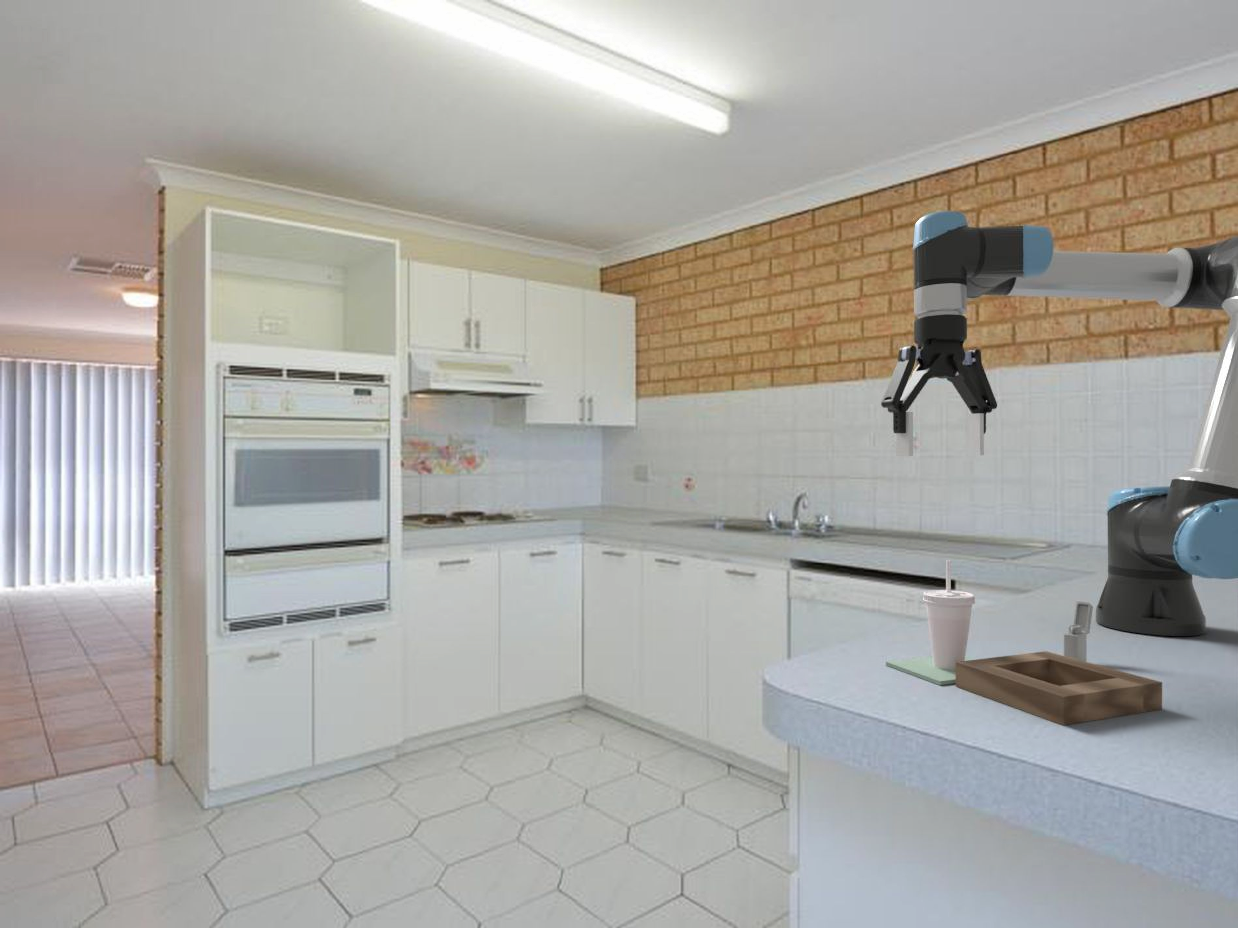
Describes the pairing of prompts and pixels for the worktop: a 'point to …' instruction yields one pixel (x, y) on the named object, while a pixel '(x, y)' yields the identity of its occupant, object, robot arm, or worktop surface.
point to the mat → (925, 670)
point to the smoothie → (948, 623)
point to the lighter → (1078, 632)
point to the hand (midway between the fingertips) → (940, 455)
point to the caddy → (1059, 687)
